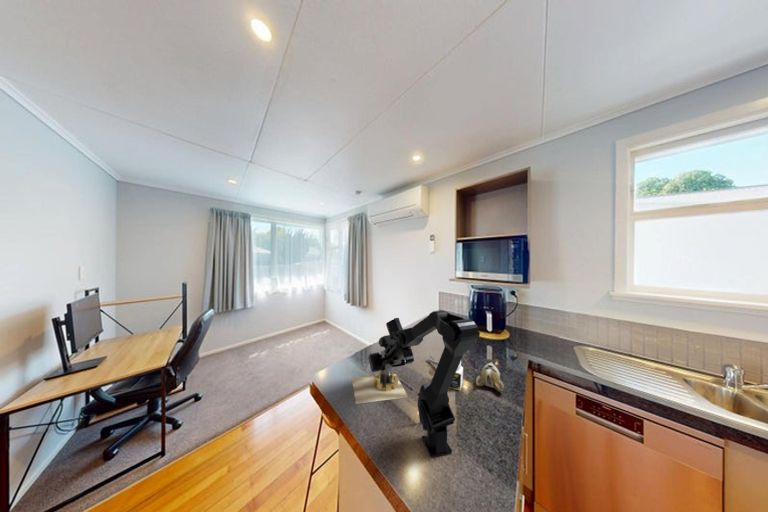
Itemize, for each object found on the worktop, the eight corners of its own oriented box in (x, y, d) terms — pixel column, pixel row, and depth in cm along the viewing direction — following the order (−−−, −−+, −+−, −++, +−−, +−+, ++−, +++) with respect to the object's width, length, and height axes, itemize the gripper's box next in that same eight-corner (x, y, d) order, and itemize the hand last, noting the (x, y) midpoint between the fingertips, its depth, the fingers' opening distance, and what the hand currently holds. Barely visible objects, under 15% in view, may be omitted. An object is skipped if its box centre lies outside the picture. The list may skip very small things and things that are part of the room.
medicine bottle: (442, 385, 90) (443, 357, 90) (446, 378, 96) (447, 351, 96) (460, 391, 86) (461, 361, 87) (462, 382, 93) (463, 355, 93)
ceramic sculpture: (504, 361, 96) (503, 378, 83) (504, 380, 96) (503, 400, 83) (478, 355, 101) (474, 370, 88) (479, 373, 101) (474, 391, 88)
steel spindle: (391, 385, 85) (392, 355, 86) (379, 384, 86) (380, 354, 86) (391, 378, 90) (392, 350, 91) (380, 377, 91) (381, 349, 91)
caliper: (453, 379, 94) (454, 364, 95) (451, 379, 94) (452, 364, 95) (428, 360, 114) (429, 348, 114) (426, 360, 113) (427, 348, 114)
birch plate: (408, 400, 80) (408, 397, 80) (355, 407, 75) (355, 403, 75) (395, 376, 96) (395, 374, 96) (351, 381, 92) (351, 378, 92)
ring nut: (400, 389, 84) (400, 383, 84) (376, 392, 82) (376, 386, 82) (393, 376, 94) (393, 370, 94) (371, 378, 92) (371, 372, 92)
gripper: (410, 328, 90) (396, 345, 99) (370, 333, 81) (359, 352, 90) (421, 354, 82) (405, 370, 92) (379, 363, 74) (366, 379, 83)
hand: (384, 367), depth 89 cm, fingers closed on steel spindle, 5 cm apart
